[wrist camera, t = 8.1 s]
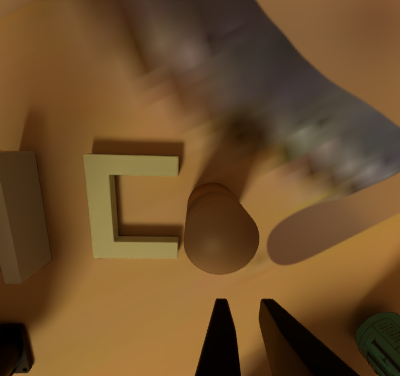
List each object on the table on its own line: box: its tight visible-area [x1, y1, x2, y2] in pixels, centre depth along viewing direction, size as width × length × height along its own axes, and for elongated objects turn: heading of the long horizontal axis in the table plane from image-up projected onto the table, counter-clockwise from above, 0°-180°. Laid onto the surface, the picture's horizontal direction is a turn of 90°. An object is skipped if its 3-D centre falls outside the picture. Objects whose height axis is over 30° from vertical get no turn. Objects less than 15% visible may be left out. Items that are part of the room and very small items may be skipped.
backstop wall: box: [0, 151, 52, 284], centre depth 17 cm, size 11×1×4 cm, turn 178°
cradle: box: [83, 154, 179, 259], centre depth 18 cm, size 10×8×1 cm
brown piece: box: [184, 183, 259, 275], centre depth 15 cm, size 5×5×7 cm
